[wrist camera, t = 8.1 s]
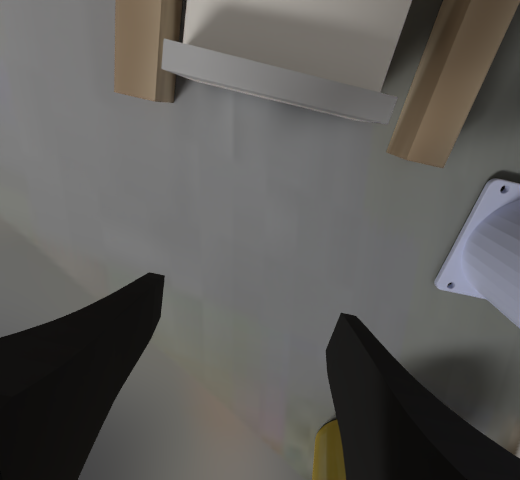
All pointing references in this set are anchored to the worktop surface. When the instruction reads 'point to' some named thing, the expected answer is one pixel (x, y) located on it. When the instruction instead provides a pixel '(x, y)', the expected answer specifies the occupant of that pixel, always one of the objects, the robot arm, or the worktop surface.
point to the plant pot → (329, 454)
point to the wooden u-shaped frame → (419, 96)
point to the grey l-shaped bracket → (294, 51)
